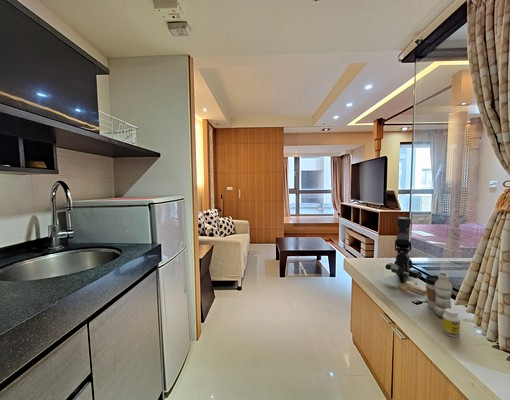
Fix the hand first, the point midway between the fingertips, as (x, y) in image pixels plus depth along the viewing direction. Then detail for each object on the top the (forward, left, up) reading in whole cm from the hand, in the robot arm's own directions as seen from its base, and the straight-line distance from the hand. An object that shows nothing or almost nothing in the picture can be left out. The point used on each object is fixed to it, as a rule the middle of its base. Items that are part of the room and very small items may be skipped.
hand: (402, 283), depth 140 cm
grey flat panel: (0, +3, -1) cm, 3 cm away
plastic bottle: (+16, +28, -1) cm, 33 cm away
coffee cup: (+10, +22, -1) cm, 24 cm away
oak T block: (0, +7, -1) cm, 7 cm away
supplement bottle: (+27, +36, -1) cm, 45 cm away
